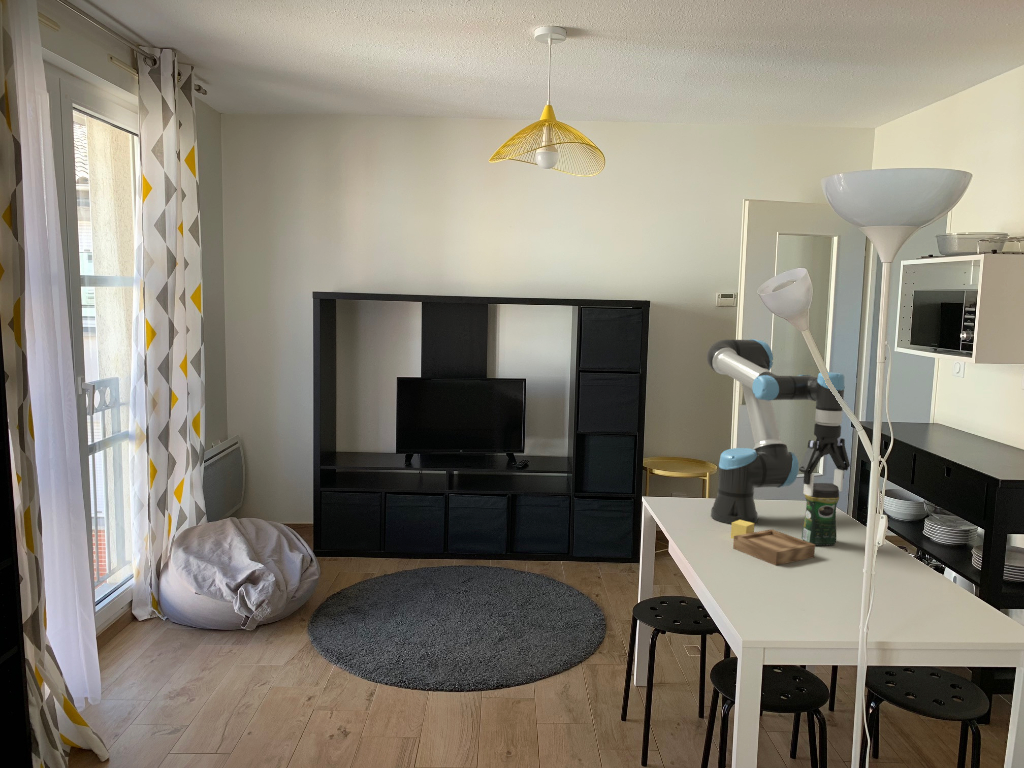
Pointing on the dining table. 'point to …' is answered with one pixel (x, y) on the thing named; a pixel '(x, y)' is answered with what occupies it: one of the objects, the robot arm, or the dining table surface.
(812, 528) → the coffee jar
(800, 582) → the dining table surface
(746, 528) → the mustard cube
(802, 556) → the walnut tray
